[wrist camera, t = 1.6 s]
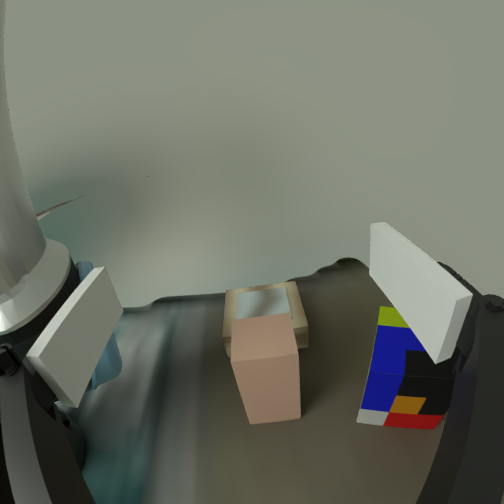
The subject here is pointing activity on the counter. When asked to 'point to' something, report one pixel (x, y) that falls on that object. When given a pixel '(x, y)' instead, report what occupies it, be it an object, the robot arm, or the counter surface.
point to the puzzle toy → (405, 378)
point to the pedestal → (265, 309)
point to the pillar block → (267, 367)
